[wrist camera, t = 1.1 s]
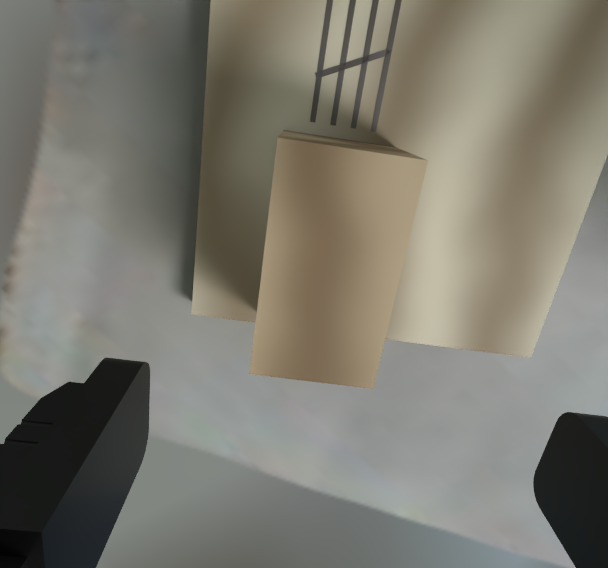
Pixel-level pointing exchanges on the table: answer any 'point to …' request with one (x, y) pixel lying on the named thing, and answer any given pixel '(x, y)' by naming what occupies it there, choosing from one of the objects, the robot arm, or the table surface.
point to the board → (415, 146)
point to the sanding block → (333, 257)
